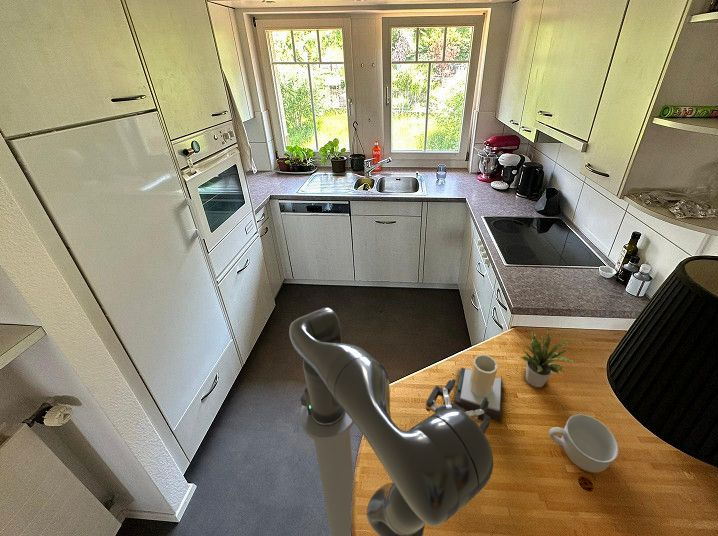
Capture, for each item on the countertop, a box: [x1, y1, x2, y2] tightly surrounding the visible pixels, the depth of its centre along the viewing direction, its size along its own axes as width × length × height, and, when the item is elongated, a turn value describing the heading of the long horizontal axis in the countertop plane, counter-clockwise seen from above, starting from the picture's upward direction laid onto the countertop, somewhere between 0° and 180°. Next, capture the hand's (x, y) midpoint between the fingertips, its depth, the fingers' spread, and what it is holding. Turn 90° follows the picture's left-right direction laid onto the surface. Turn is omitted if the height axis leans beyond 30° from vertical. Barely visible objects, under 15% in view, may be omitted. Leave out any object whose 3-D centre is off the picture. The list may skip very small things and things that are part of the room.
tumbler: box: [469, 353, 498, 398], centre depth 90 cm, size 6×6×10 cm
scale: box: [454, 367, 503, 421], centre depth 93 cm, size 12×12×3 cm
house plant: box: [519, 329, 576, 388], centre depth 94 cm, size 14×14×16 cm
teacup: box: [548, 413, 619, 473], centre depth 78 cm, size 14×11×8 cm
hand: (469, 390), depth 81 cm, fingers open, 8 cm apart
